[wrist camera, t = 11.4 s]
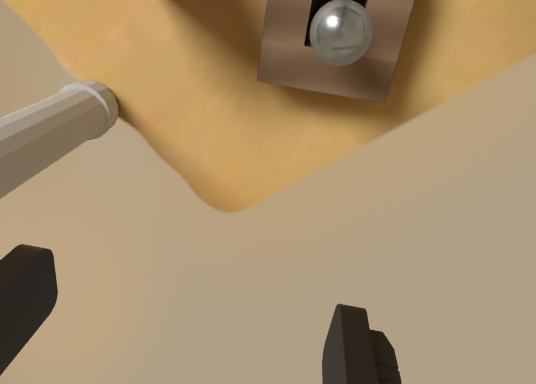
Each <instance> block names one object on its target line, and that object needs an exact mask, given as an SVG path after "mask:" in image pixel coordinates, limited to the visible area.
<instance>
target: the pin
mask: <svg viewBox="0 0 536 384" xmlns="http://www.w3.org/2000/svg"><path fill="white" fill-rule="evenodd" d="M372 36H373V25H372V21H371V18H370V15H369V14H368V12H367V11H366V9H365V8H364V7H363V6H361V5H360V4H359V3H357V2H355V1H352V0H333V1H329V2H326V3H325V4H323V5H322V6H321V7H320V8H319V10H318V11H317V13H316V14H315V16H314V18H313V20H312V23H311V27H310V42H311V46H312V48H313V50H314V52H315V54H316V55H317V56H318V57H319V58H320V59H321V60H322V61H324V62H325V63H327V64H330V65H334V66H344V65H348V64H351V63H353V62H355V61H357V60H358V59H359V58H361V57H362V56H363V55H364V53H365V52H366V51H367V49H368V48H369V45H370V43H371V40H372Z"/></svg>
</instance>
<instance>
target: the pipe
mask: <svg viewBox="0 0 536 384" xmlns="http://www.w3.org/2000/svg"><path fill="white" fill-rule="evenodd" d="M117 118H118V104H117V102H116V99H115V97H114V95H113V94H112V93H111V92H110V91H109V89H108V88H107V87H105V86H103V85H102V84H100V83H98V82H94V81H89V80H85V81H81V82H77V83H73V84H69V85H66V86H64V87H63V88H62V89H61V90H60V91H59V92H57V94H56V95H54V96H52V97H49V98H47V99H45V100H42V101H39V102H37V103H35V104H33V105H30V106H27V107H25V108H23V109H20V110H18V111H15V112H13V113H10V114H8V115H6V116H3V117H1V118H0V199H1V198H2V197H4V196H5V195H7V194H8V193H9V192H11V191H12V190H14V189H15V188H17V187H18V186H20V185H21V184H23V183H24V182H26V181H27V180H29V179H30V178H32V177H33V176H35V175H36V174H38V173H39V172H41V171H42V170H44V169H45V168H47V167H48V166H50V165H51V164H52V163H54V162H55V161H57V160H58V159H60V158H62V157H63V156H64V155H66V154H67V153H69V152H70V151H72V150H73V149H75V148H76V147H78V146H79V145H81V144H82V143H84V142H85V141H87V140H91V139H96V138H99V137H100V136H102V135H103V134H104V133H105V132H107V131H108V130H109V128H111V127H112V126H113V125H114V124H115V122H116V120H117Z"/></svg>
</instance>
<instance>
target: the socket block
mask: <svg viewBox="0 0 536 384" xmlns="http://www.w3.org/2000/svg"><path fill="white" fill-rule="evenodd" d="M311 3H312V0H268V1H267V8H266V16H265V23H264V31H263V38H262V45H261V53H260V60H259V68H258V75H257V81H260V82H265V83H271V84H277V85H283V86H288V87H294V88H300V89H305V90H311V91H317V92H323V93H328V94H334V95H340V96H346V97H351V98H357V99H363V100H368V101H374V102H380V103H385V100H386V97H387V93H388V90H389V86H390V83H391V79H392V76H393V73H394V69H395V66H396V62H397V59H398V55H399V52H400V48H401V45H402V41H403V38H404V34H405V31H406V27H407V24H408V21H409V17H410V14H411V10H412V7H413V3H414V0H362V2H361V6H363V7H364V8H365V9H366V11H367V12H368V14H369V15H370V18H371V21H372V25H373V36H372V40H371V43H370V45H369V48H368V49H367V51H366V52H365V53H364V55H363V56H362V57H361V58H359V59H358V60H357V61H355V62H353V63H351V64H348V65H344V66H334V65H330V64H327V63H325V62H324V61H322V60H321V59H320V58H319V57H318V56H317V55H316V54H315V52H314V50H313V48H312V46H311V42H310V41H305V36H306V30H307V25H308V19H309V14H310V8H311Z"/></svg>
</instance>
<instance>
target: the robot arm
mask: <svg viewBox="0 0 536 384" xmlns="http://www.w3.org/2000/svg"><path fill="white" fill-rule="evenodd" d="M57 293H58V290H57V281H56V273H55V265H54V257H53V253H52V251H51V250H50V249H45V248H40V247H35V246H30V245H24V244H21V245H18V246H17V247H15V248H14V249H13V250H12V251H11V252H9V253H8V254H7V255H6V256H5V257H4V258H3V259H1V260H0V375H1V374H2V373H3V371H4V370H5V369H6V368H7V367H8V365H9V364H10V363H11V362H12V360H13V359H14V358H15V357H16V355H17V354H18V353H19V352H20V351H21V349H22V348H23V347H24V345H25V344H26V343H27V342H28V341H29V339H30V338H31V337H32V336H33V334H34V333H35V332H36V331H37V329H38V328H39V327H40V326H41V325H42V323H43V322H44V321H45V319H46V318H47V317H48V316H49V315H50V313H51V312H52V310H53V308H54V306H55V303H56V300H57ZM322 377H323V384H401V378H400V374H399V371H398V365H397V360H396V356H395V351H394V348H393V347H392V345H391V344H390V342H389V341H388V339H387V338H386V336H385V335H384V333H383V332H380V331H375V330H370V329H369V323H368V317H367V312H366V309H364V308H359V307H354V306H348V305H343V304H338V305H337V306H336V309H335V312H334V315H333V318H332V322H331V325H330V328H329V331H328V335H327V338H326V341H325V345H324V351H323V360H322Z"/></svg>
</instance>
